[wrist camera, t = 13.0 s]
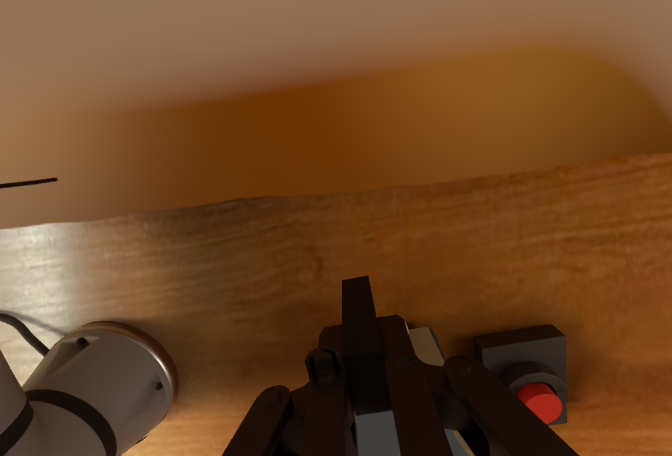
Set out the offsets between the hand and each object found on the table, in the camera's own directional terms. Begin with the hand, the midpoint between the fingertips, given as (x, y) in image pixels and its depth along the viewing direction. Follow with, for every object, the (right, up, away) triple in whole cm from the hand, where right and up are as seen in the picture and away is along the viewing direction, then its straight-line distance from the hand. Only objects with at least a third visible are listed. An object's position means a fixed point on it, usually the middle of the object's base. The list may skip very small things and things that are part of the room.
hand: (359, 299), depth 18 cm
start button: (+20, -14, +17) cm, 30 cm away
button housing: (+20, -14, +20) cm, 32 cm away
